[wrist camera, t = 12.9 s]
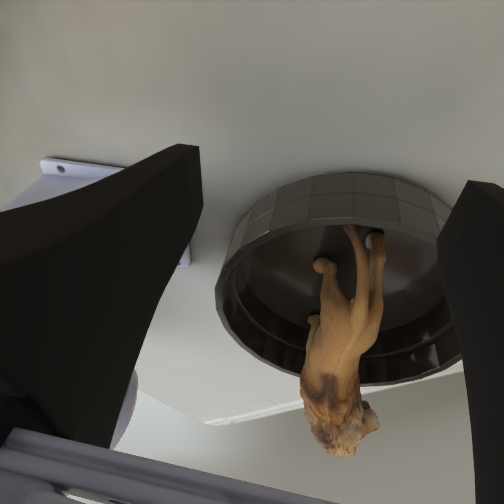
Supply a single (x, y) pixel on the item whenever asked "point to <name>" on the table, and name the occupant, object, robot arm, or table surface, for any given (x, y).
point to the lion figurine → (343, 350)
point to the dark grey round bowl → (340, 274)
